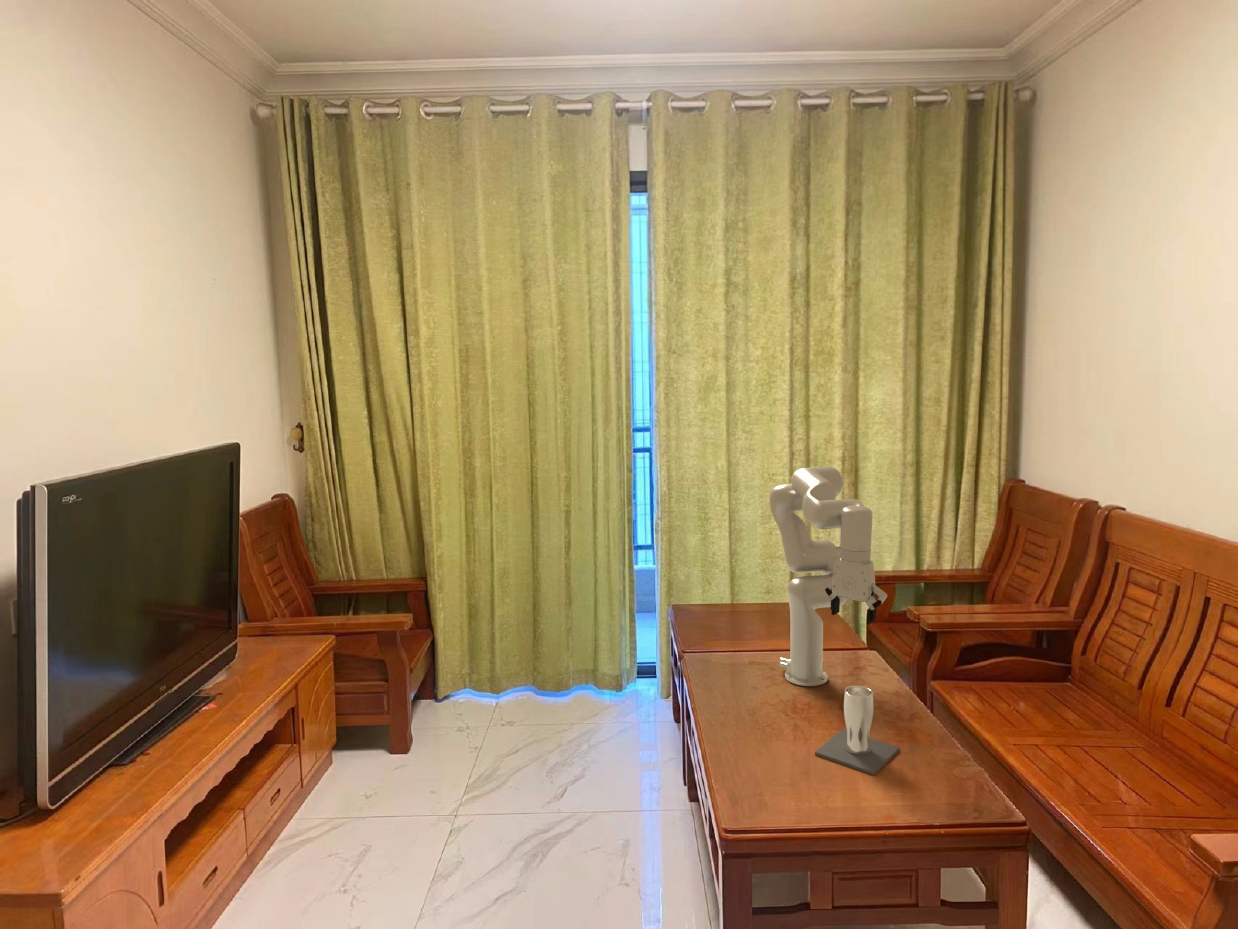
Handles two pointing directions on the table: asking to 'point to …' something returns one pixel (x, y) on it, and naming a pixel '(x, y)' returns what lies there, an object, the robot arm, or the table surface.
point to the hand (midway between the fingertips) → (852, 618)
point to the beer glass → (858, 719)
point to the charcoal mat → (864, 763)
